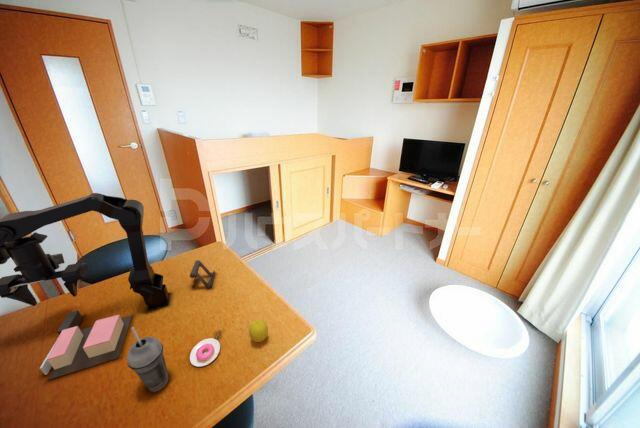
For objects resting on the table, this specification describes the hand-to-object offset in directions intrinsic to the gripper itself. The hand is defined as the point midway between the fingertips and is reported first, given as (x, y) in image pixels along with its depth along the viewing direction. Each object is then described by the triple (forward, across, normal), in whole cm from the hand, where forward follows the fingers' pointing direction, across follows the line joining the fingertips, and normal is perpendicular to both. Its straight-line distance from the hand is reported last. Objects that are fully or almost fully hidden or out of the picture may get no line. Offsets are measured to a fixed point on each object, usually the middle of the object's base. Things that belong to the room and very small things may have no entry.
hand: (56, 300), depth 72 cm
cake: (+12, -12, +10) cm, 20 cm away
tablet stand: (+12, -39, -7) cm, 41 cm away
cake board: (+12, -9, +10) cm, 18 cm away
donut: (+12, -40, +25) cm, 49 cm away
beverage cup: (+12, -28, +30) cm, 43 cm away
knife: (+12, 0, +6) cm, 14 cm away
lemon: (+12, -55, +28) cm, 63 cm away
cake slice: (+12, -3, +11) cm, 16 cm away
